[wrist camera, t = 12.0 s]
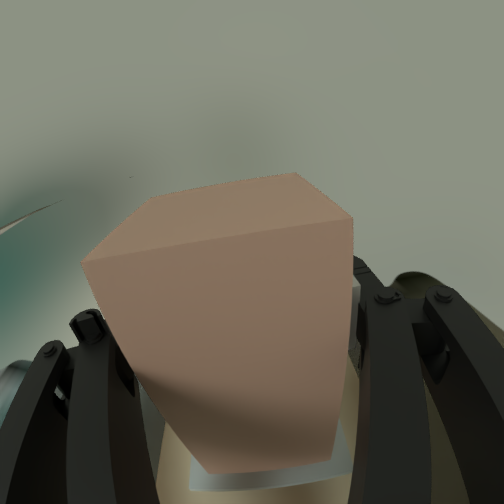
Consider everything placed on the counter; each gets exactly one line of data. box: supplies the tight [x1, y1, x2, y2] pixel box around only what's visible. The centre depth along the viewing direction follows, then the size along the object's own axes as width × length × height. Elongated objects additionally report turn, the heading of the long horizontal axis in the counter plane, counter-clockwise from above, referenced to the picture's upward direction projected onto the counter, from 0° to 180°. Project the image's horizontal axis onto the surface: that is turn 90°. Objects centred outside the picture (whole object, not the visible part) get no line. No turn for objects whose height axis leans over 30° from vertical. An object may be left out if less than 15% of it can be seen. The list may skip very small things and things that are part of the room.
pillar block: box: [81, 173, 353, 474], centre depth 11 cm, size 6×6×12 cm
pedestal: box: [156, 354, 359, 504], centre depth 14 cm, size 12×12×5 cm
